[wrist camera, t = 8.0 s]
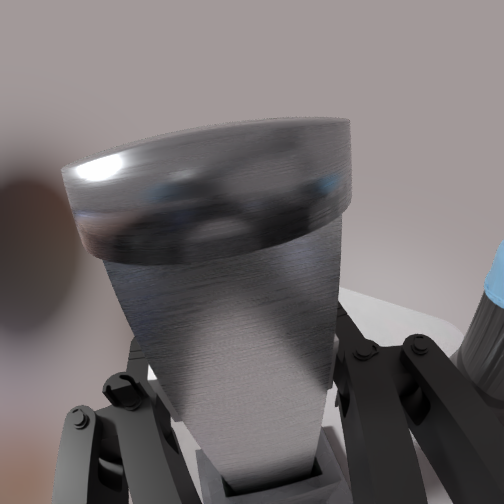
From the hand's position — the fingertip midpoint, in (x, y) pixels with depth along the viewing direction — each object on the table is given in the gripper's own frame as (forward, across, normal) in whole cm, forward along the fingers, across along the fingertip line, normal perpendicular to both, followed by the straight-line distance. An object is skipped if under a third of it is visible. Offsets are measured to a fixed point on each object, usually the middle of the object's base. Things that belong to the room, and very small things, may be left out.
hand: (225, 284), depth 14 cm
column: (-5, 0, -20) cm, 21 cm away
